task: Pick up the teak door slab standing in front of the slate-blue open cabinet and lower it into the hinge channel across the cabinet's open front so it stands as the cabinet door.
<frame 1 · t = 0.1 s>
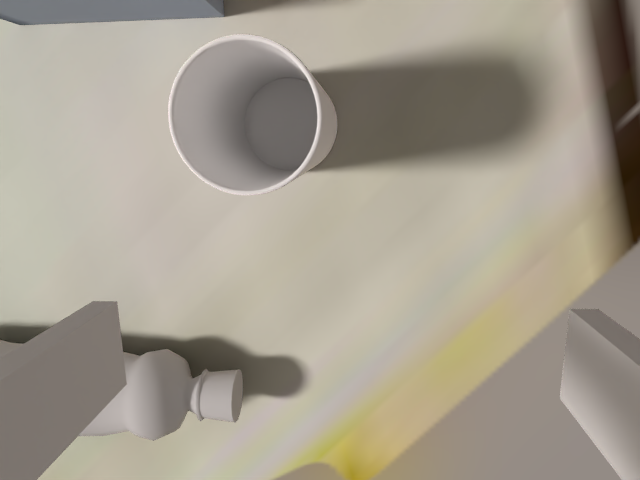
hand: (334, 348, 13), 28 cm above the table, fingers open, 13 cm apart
cup: (290, 125, 40), on the table
bottle: (103, 371, 47), on the table
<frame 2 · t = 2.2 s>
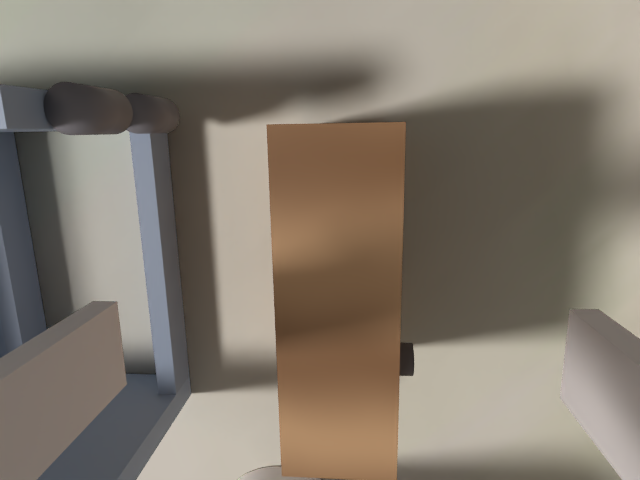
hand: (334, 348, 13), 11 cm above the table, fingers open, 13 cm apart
cabinet: (112, 259, 26), on the table
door: (346, 242, 24), on the table
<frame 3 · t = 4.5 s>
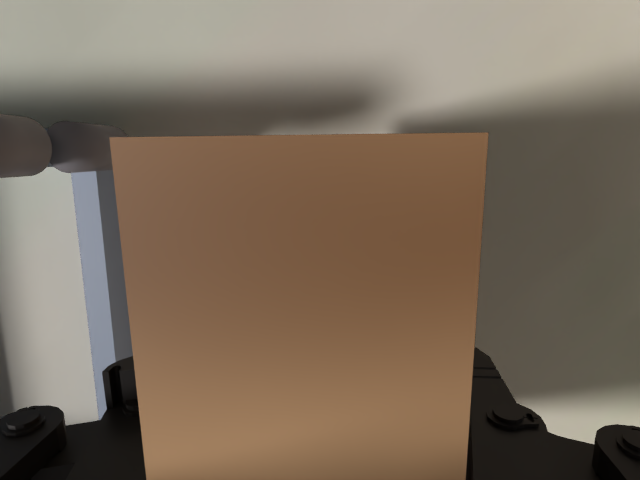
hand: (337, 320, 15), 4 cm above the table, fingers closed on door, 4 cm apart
cabinet: (56, 319, 21), on the table
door: (338, 315, 16), point 4 cm above the table, touching gripper
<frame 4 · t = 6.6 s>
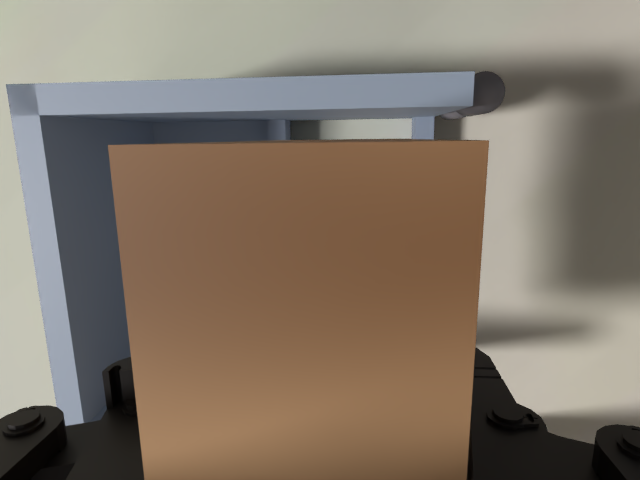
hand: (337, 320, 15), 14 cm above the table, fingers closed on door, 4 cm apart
cabinet: (364, 232, 29), on the table
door: (338, 317, 16), point 14 cm above the table, touching gripper
when the fingers open (2 cm above the table, at t = 8.9 s): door drops 2 cm, resting in cabinet.
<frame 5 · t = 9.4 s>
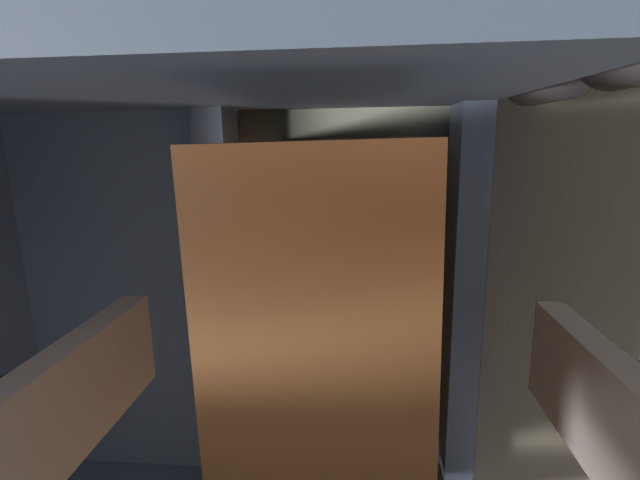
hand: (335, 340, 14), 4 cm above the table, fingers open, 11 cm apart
cabinet: (366, 299, 17), on the table
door: (341, 298, 18), resting in cabinet
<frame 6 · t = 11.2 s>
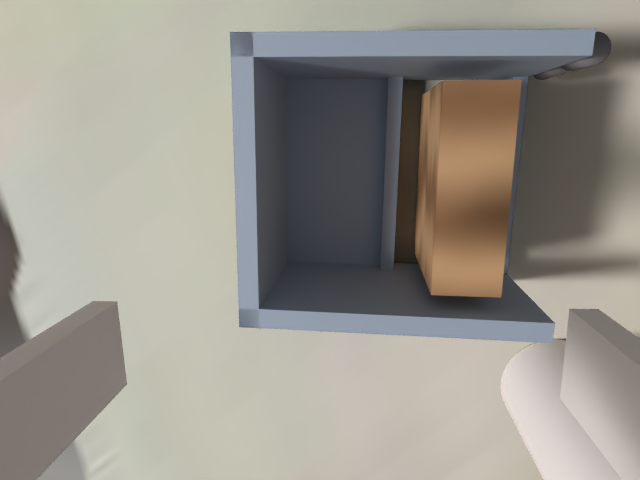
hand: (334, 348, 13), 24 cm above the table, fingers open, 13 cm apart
cabinet: (457, 176, 35), on the table
cup: (550, 383, 38), on the table
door: (444, 177, 35), resting in cabinet
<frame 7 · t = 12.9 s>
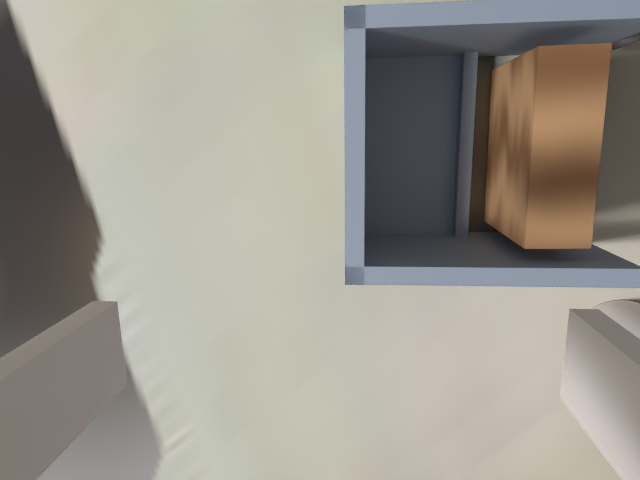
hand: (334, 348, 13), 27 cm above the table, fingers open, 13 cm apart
cabinet: (525, 146, 37), on the table
cup: (615, 343, 40), on the table
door: (512, 147, 37), resting in cabinet
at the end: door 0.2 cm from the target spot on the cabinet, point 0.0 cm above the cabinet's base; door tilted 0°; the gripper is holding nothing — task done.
